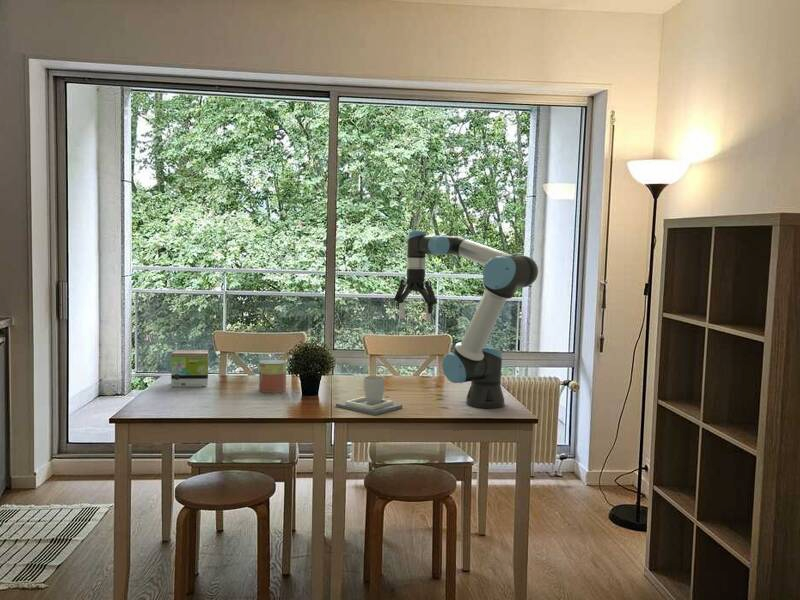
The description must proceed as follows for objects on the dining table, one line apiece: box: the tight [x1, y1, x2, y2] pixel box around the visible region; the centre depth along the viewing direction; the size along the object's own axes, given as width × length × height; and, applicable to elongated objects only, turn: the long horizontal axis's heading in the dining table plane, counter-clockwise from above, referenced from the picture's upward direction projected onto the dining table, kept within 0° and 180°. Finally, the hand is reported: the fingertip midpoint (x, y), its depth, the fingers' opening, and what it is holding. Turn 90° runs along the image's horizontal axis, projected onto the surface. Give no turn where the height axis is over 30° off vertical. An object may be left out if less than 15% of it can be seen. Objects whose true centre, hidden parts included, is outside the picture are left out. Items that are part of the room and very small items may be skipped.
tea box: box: [170, 349, 209, 388], centre depth 318 cm, size 15×10×15 cm
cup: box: [363, 375, 386, 405], centre depth 286 cm, size 8×8×10 cm
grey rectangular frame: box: [335, 396, 403, 416], centre depth 286 cm, size 20×16×2 cm
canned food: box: [258, 358, 287, 393], centre depth 312 cm, size 11×11×12 cm
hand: (414, 320), depth 305 cm, fingers open, 13 cm apart
